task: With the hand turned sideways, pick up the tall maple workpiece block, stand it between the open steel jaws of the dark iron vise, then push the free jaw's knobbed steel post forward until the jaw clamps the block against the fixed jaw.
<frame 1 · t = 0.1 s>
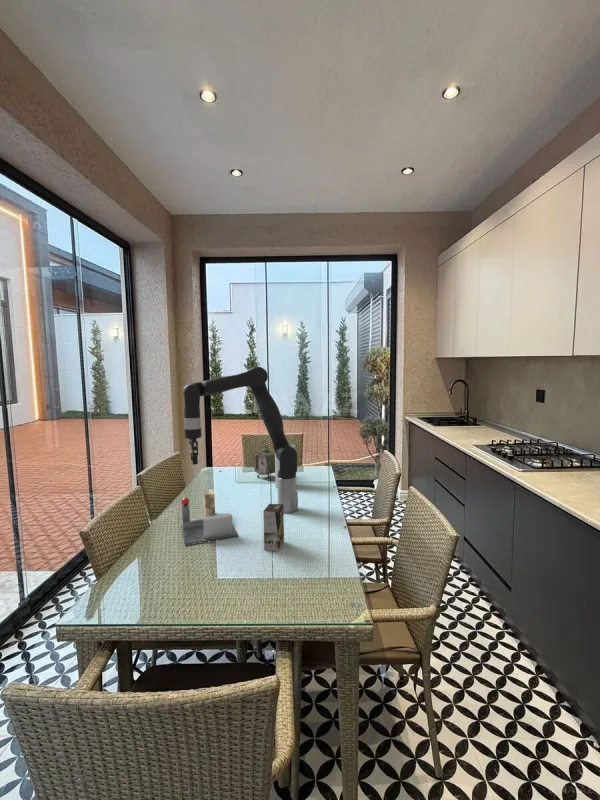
hand: (194, 462, 181), 29 cm above the table, tool pointing down, fingers open, 8 cm apart
vise slide jaw: (205, 509, 179), point 8 cm above the table, slide at 0.0 cm
tabletop clock: (266, 478, 257), on the table
vise bed: (208, 532, 173), on the table
coffee box: (274, 546, 159), on the table
maple block: (209, 515, 193), on the table
cylinder vase: (285, 486, 239), on the table
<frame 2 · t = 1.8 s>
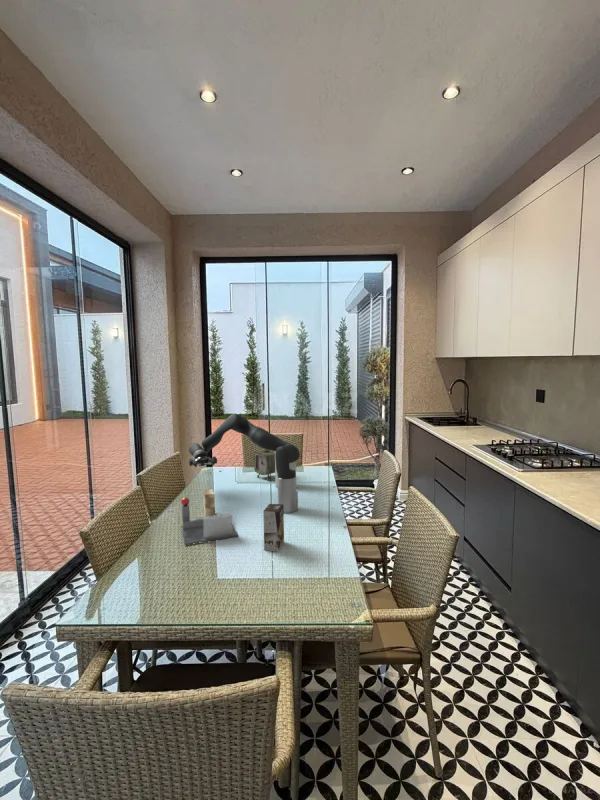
hand: (204, 464, 202), 23 cm above the table, tool horizontal, fingers open, 8 cm apart
nothing on the table moved.
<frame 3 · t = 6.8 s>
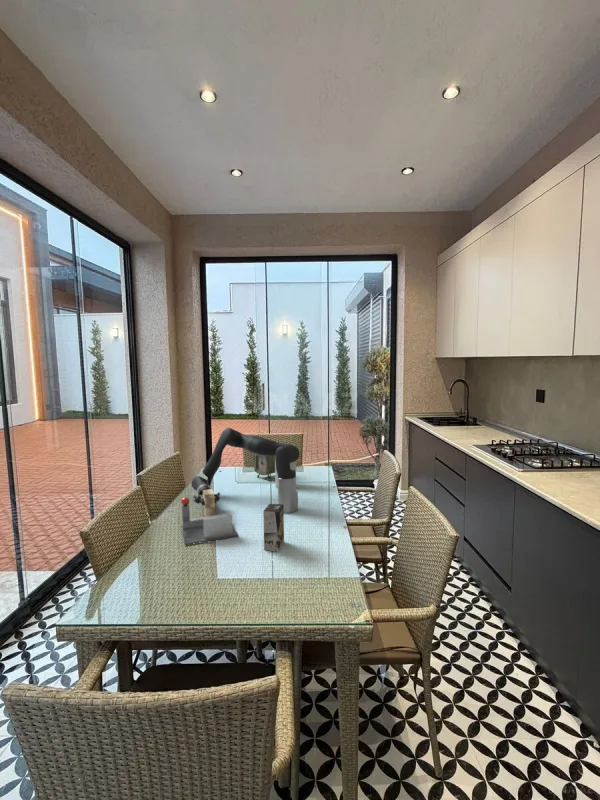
hand: (209, 502, 191), 7 cm above the table, tool horizontal, fingers closed on maple block, 4 cm apart
maple block: (209, 515, 193), on the table, touching gripper
everything else where it was.
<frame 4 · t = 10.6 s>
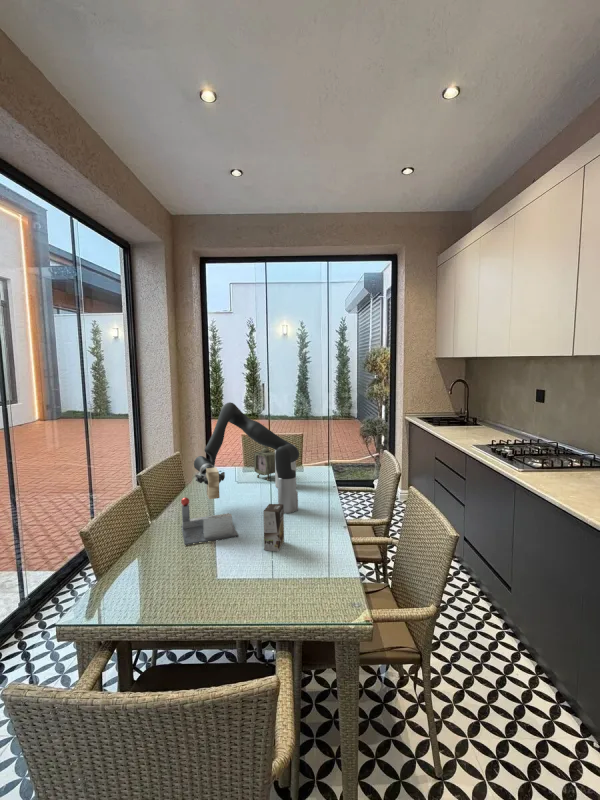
hand: (213, 481, 175), 22 cm above the table, tool horizontal, fingers closed on maple block, 4 cm apart
maple block: (213, 496, 177), point 15 cm above the table, touching gripper
everything else where it was.
when the fingers open (9 cm above the table, at t = 14.5 s): maple block drops 1 cm, resting on vise bed.
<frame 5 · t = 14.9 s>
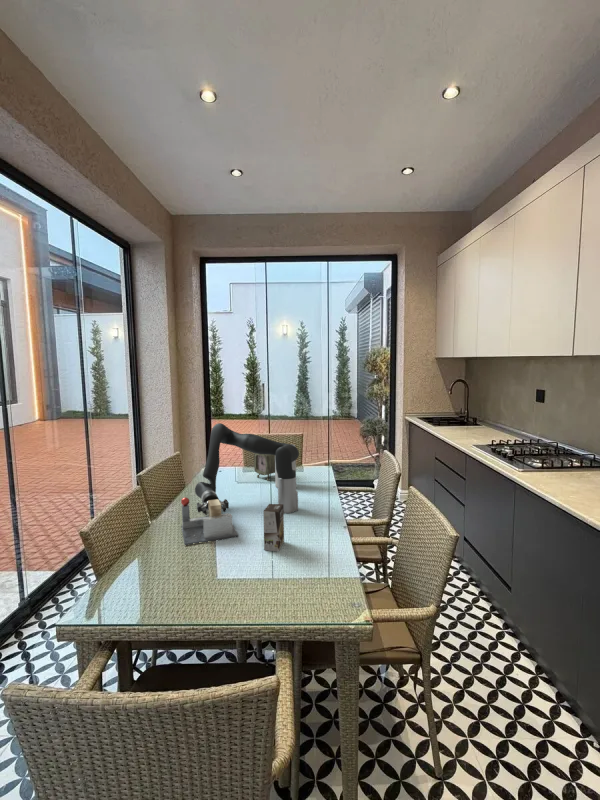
hand: (215, 511, 173), 10 cm above the table, tool horizontal, fingers open, 7 cm apart
maple block: (215, 528, 174), point 1 cm above the table, touching vise bed
everything else where it was.
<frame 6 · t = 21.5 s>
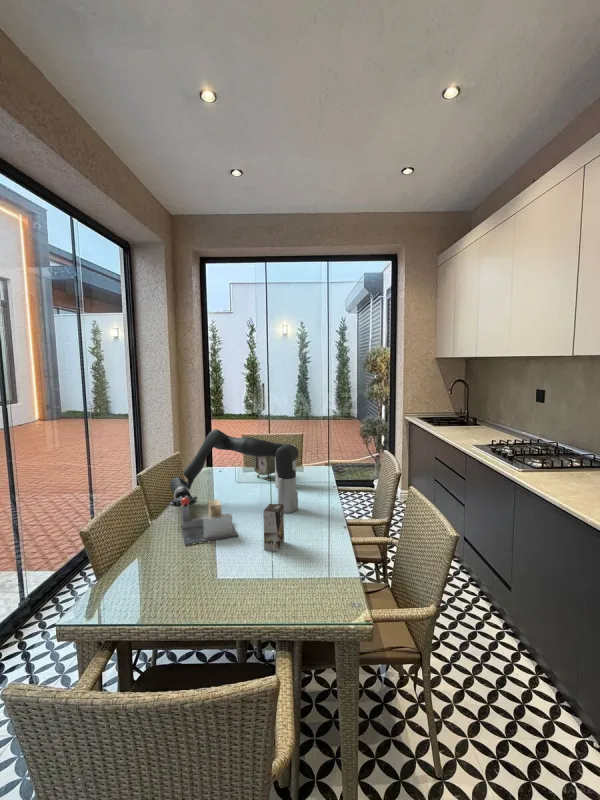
hand: (185, 506, 177), 10 cm above the table, tool horizontal, fingers closed
vise slide jaw: (205, 509, 179), point 8 cm above the table, slide at 0.0 cm, touching gripper
everything else where it was.
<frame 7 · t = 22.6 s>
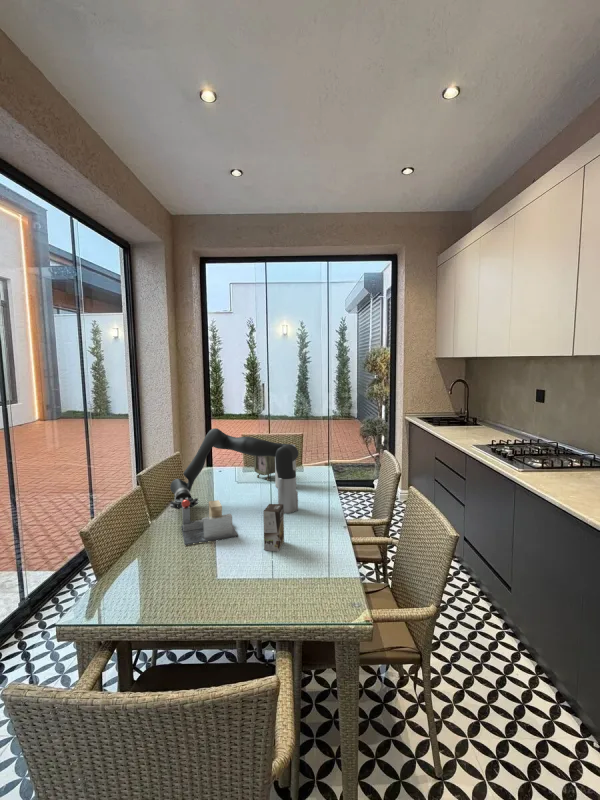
hand: (185, 509, 175), 10 cm above the table, tool horizontal, fingers closed
vise slide jaw: (206, 511, 176), point 8 cm above the table, slide at 3.0 cm, touching gripper, maple block
maple block: (215, 530, 173), point 1 cm above the table, touching vise bed, vise slide jaw
everything else where it was.
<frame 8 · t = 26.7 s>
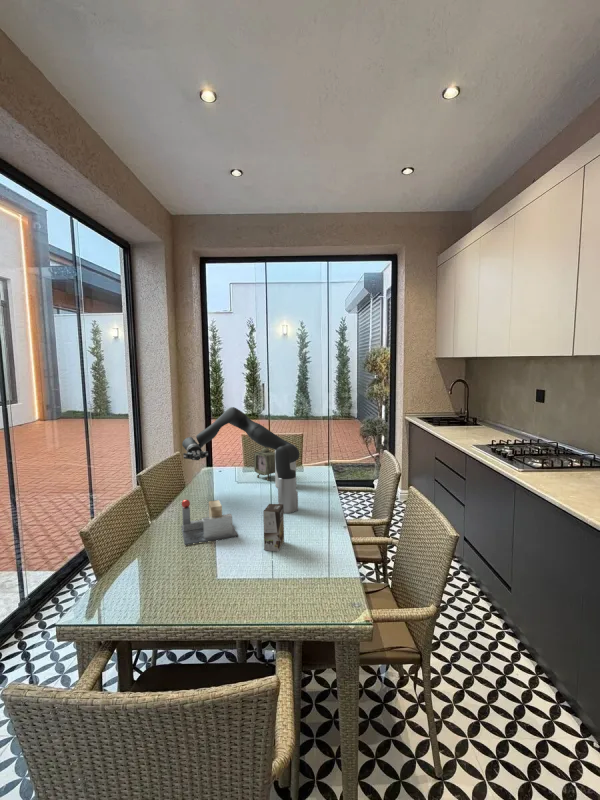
hand: (197, 458, 194), 28 cm above the table, tool horizontal, fingers closed
vise slide jaw: (206, 511, 176), point 8 cm above the table, slide at 3.0 cm, touching maple block
everything else where it was.
at the end: maple block 0.8 cm from the target spot, point 1.0 cm above the table; maple block tilted 0°; vise slide jaw slide at 3.0 cm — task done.
